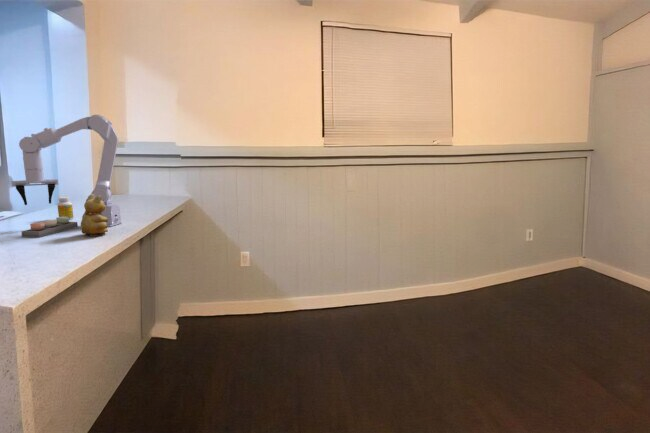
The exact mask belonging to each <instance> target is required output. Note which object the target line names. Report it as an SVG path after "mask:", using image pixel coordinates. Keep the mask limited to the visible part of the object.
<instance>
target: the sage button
mask: <svg viewBox="0 0 650 433" xmlns="http://www.w3.org/2000/svg"><path fill="white" fill-rule="evenodd" d="M55 220H57V223H58V224H62V223H68V222H70V220H69V218H68V217H59V216H58V217H56V218H55Z"/></svg>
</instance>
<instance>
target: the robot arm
mask: <svg viewBox="0 0 650 433" xmlns="http://www.w3.org/2000/svg"><path fill="white" fill-rule="evenodd" d="M82 130H90V131H91V130H92V131H94V132H95V133H97V134H99V136H100V138H101V139H102V140H103V141H104V142H103V147H102V153H101V159H100V164H99V169H98V175H97V180H96V182H95V186H94V189H93V190H92V191H91V193H90V195H91V194H94V196H95V198H96V197H97V196H99V195H101V197H102V198H101V201H103V202H104V205H105V210H104V211H103V212H101V213H102V215H103V216H104V217H107V219H108V221H107V228H109V227H114V226H116V225H120V224H123V221H122V218H121V217H122V216H121V208H120V206H119V205H118V204H116V203H113V200H112V199H111V198H112V194H113V192H112V189H111V186H112V184H111V183H112V182H111V180H112V175H113V170H114V165H115V160H116V154H117V149H118V143H119V136H118V134H117V132H116V131H115V129H114V126H113V124H112V122H111V121H110V120H109V119H108V118H107V117H105V116H103V115H100V114H92V115H91V116H86V117H82V118H79V119H77V120H75V121H73V122H71V123H68V124H66V125H64V126H61V127H59V128H57V129H55V128H53V127H49V128H48V127H45V128H43V130H42V131H39V132H37V133H31V134H30V136H24V137H22V139H20V140H19V143H18V144H19V145H18V147H19V148H20V150H21V151H22V160H23V168H24V175H25V180H11V187H14V188H15V190H17V192H18V194H19V195H20V197H21V199H22V200H23V205H24V206H28V201H27V196H26V191H25V190H26V189H25V187H29V186H30V187H31V186H32V187H33V186H47V192H48V204H52V198H53V194H54V190H55V188H56V185H59V180H58V178H57V179H45V177H44V169H43V168H44V167H43V158H42V154H41V150H42V149H46V148H48V147H50V146H52V145H55V144H57V143H60V142H61V140H62V138H63V137H65V136H68V135H70V134H73V133H76V132H79V131H82Z"/></svg>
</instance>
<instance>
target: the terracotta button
mask: <svg viewBox="0 0 650 433" xmlns="http://www.w3.org/2000/svg"><path fill="white" fill-rule="evenodd" d="M29 225H30V226H29V227H30V229H31V230H41V229H44V222H32V223H30V224H29Z"/></svg>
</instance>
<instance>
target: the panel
mask: <svg viewBox="0 0 650 433" xmlns="http://www.w3.org/2000/svg"><path fill="white" fill-rule="evenodd" d="M75 227H76V228H78V227H79V225H78V221H69V222H68V223H62V224H58V223H57V226H51V227H45V226H44V229H41V230H31V228H30V229H29V228H28V229H26V230H25V229H24V230H21V231H20V232H21V237H22V238H43V237H46V236H49V235H53V234H57V233H58V234H59V233H60V232H64V231H68V230H72V229H75Z"/></svg>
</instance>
